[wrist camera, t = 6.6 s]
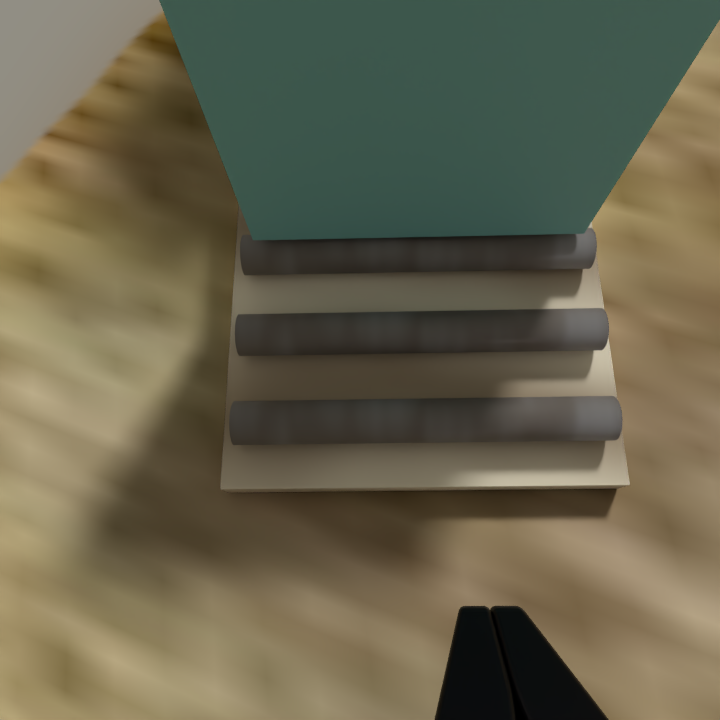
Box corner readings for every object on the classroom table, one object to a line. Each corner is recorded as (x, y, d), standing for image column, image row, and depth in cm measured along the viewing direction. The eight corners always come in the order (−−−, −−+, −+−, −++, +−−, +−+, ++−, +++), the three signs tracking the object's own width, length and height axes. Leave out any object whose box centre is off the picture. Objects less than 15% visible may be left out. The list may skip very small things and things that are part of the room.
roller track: (617, 488, 20) (713, 460, 14) (227, 492, 20) (169, 466, 15) (557, 58, 26) (609, -85, 20) (253, 66, 26) (218, -73, 20)
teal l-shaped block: (583, 233, 20) (747, -25, 11) (252, 240, 20) (156, -7, 11) (560, 65, 22) (681, -262, 13) (262, 73, 22) (187, -243, 14)
